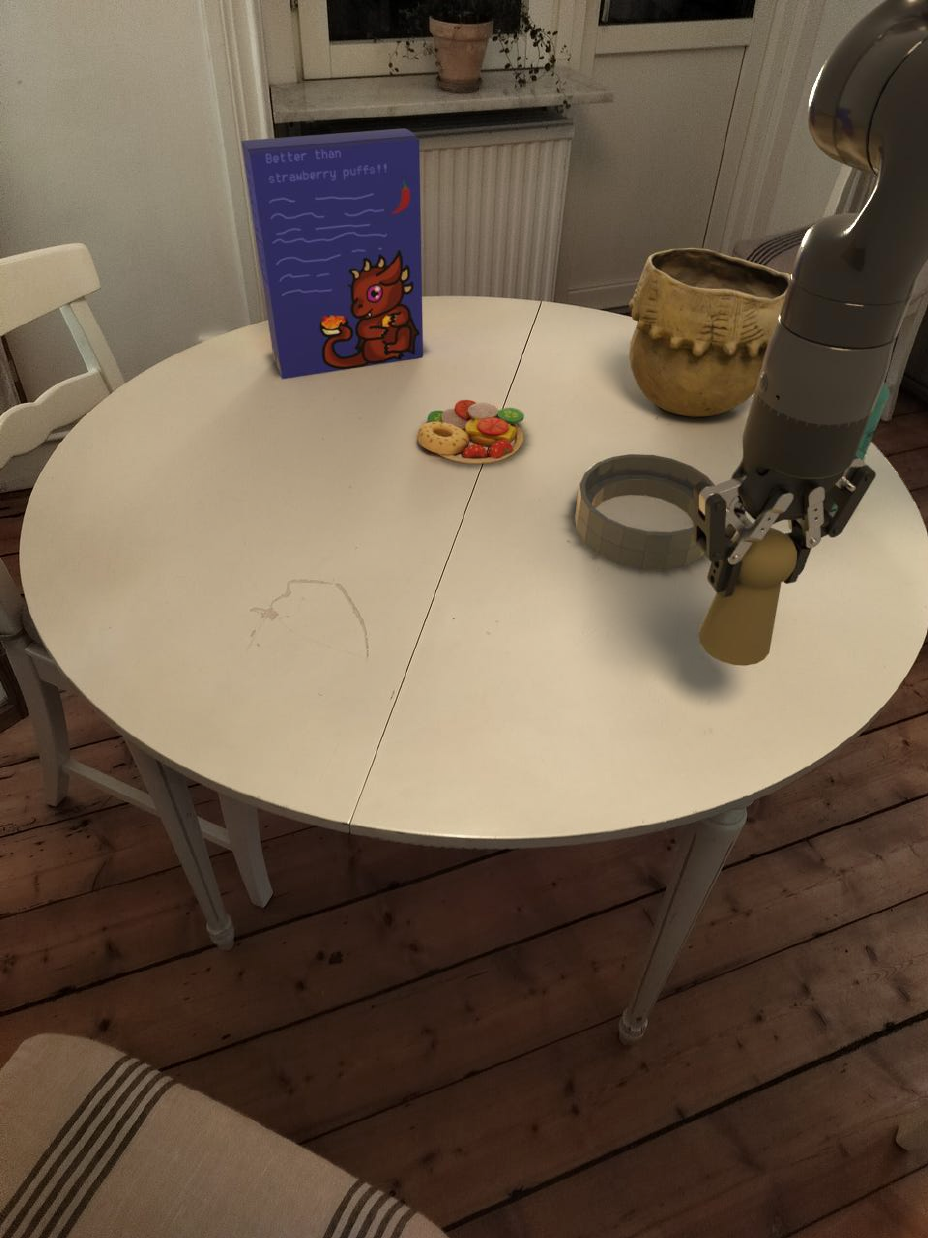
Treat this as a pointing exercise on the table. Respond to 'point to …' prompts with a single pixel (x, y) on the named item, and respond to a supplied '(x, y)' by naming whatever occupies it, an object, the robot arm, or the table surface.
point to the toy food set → (472, 432)
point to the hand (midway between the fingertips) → (752, 582)
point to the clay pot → (702, 329)
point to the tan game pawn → (750, 603)
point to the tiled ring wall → (638, 479)
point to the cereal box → (339, 247)
